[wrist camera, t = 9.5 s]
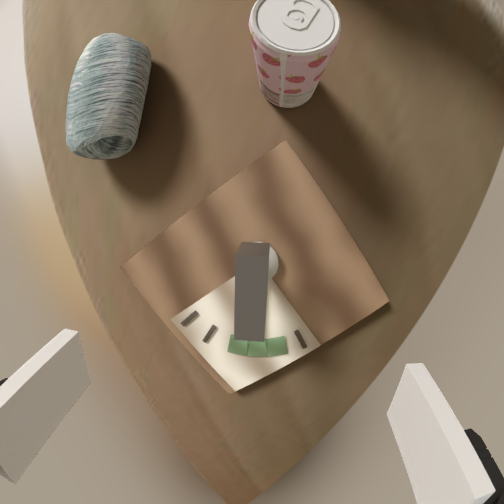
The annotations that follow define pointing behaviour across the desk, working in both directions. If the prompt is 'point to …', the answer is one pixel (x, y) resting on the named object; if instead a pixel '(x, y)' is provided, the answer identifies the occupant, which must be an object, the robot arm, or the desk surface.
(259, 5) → the beverage can
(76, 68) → the pale teal yarn skein
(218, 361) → the dial board
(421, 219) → the desk surface
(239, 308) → the grey piece
